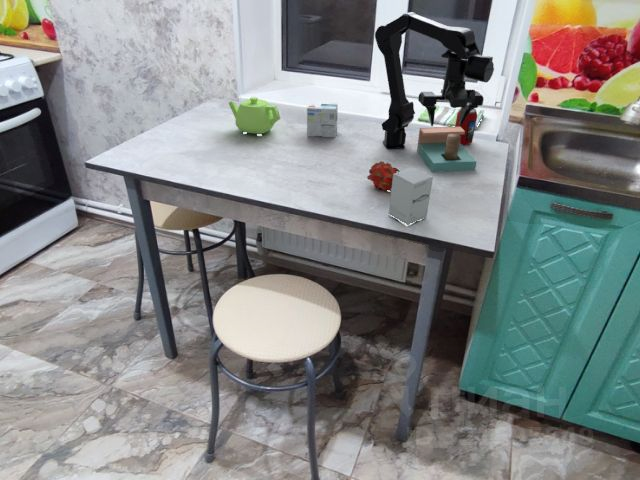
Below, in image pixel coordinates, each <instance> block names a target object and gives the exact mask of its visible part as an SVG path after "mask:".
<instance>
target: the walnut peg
mask: <svg viewBox="0 0 640 480" xmlns="http://www.w3.org/2000/svg"><path fill="white" fill-rule="evenodd" d="M460 139H461V136H460V135H458V134H449V135H448V137H447V143H446V149H445V155H444V159H445V161H451V160H457V156H458V150H459V145H460Z"/></svg>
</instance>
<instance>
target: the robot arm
mask: <svg viewBox="0 0 640 480" xmlns="http://www.w3.org/2000/svg"><path fill="white" fill-rule="evenodd" d="M409 30H410V31H413V32H415V33H418V34H420V35H423V36H426V37H427V38H431V39H434V40H436V41H438V42H439V43H441V45H442V46H443V47H444V48H445V49H446V51H445V52H444V53H442V54H441V55H440V56H441V58H444V59H447V60H446V61H447V63H446V68H445V69H446V70H445V74H444V75H443V77H442V80H443V85H442V88H441V90H440V93H441V94H439V95H438V94H435V92H433V91H421V92H420V93H419V94H418V99H417V100H418V102H419V103H420V104H421V105H422V106H423V107H425V109H426V108H427V111H428V115H429V119H430V123H429V124H430V127H433V126H434V125H435V124H434V115H435V110H436V108H437V107H436V106H435V105H437V103H439V102H440V103H443V102H444V103H445V102H447V103H449V106H450V108H453V109H457V108H461V113H460V118H459V125H460V126H461V125H462V124H463V122H464V120H465V119H466V117H467V115H468V114H469V113H470V111H471V110H473V109H477V108H478V107H479V106H480V107H481V106H483V105H484V99H485V98H484V96H483V95H482V94H481V93H480V92H479V91H477V90H475V89H467V88H466V82H467V81H466V80H465V77H466V78H467V79H468V80H473V81H477V82H481V83H484V84H485V83H488V82H489V81H490V80H491V79H492V76H493V74H494V71H495V65H494V62H493V58H494V57H493V56H490V55H489V56H488V55H487V56H486V55H485V56H484V55H481V52H480V49H479V47H478V45H477V42H476V35H475V34H474V33H475V32H474V30H472V29H470V28H467V27H461V26H448V25H445V24H443V23H441V22H437V21H436V20H432V19H429V18H428V17H425V16H421V15H419V14H416V13H415V12H413V11H411V12H405V13H403V14H401V16H399V17H398V18H396V19H394V20H392V21H391V22H389V23H387V24H383V25H379V26H378V27H377V28H376V30H375V32H374V37H375V42H376V45H377V48H378V50H379V51H380V53H381V54H382V55H383V57H384V65H385V70H386V77H387V84H388V90H389V95H390V104H389V107H388V119H387V118H386V120H385V121H383V122H382V123H381V128H382V131H384V138H383V140H382V143H383V145H384V148H385V149H387V150H390V149H391V150H392V149H393V150H394V149H405V147H406V146H405V144H406V137H407V133H406V129H405V128H408V126H409V125H410V123H412V121H413V120H414V117H415V114H416V111H415V107H414V101H409V99H407V97H406V95H407V94H406V90H405V83H404V82H405V81H404V77H403V70H402V62H401V57H400V56H401V55H400V50H401V46H402V43H403V36H402V35H404V34H405V33H407V32H408V31H409Z"/></svg>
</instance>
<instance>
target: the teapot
mask: <svg viewBox="0 0 640 480" xmlns="http://www.w3.org/2000/svg"><path fill="white" fill-rule="evenodd" d="M228 105H229V108H230V110H231V112H232V114H233V116H234V119H235V126H236V127H237V128H238V130H239V131H240V132H247V133H248V134H256V133H257V134H262V133H263V134H265V133H267V132H270V131H271V130H272V129H273V127H274V126H275V123H276V122H278V121H279V120H281V116H280V111H279V108H278V105H270V103H269V102H268V101H267V100H264V99H259V98H258V97H255V96H253V97H250V98H248V99H245V100H243V101H242V102H241V103H240V104H239V105H238V106H237V104H236V102H234V101H232V100H231V101H229V102H228ZM270 129H271V130H270ZM269 130H270V131H269Z"/></svg>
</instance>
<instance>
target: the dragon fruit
mask: <svg viewBox="0 0 640 480" xmlns="http://www.w3.org/2000/svg"><path fill="white" fill-rule="evenodd" d="M400 171H401V170H400V169H398V167H393V166H392V164H391V163H389V162H386V163H385V161H382V160H381V161H379V162H375V163H374V164H373V165H371V167H370V168H369V170H368V173H369V175H368V176H367V180H370V181H371V182H372V183H373V185H374V188H375V190H378V189H379V188H380V189H381V190H383V191H385V192H387V190H391V189H392V180H393V174H395V173H398V172H400Z"/></svg>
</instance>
